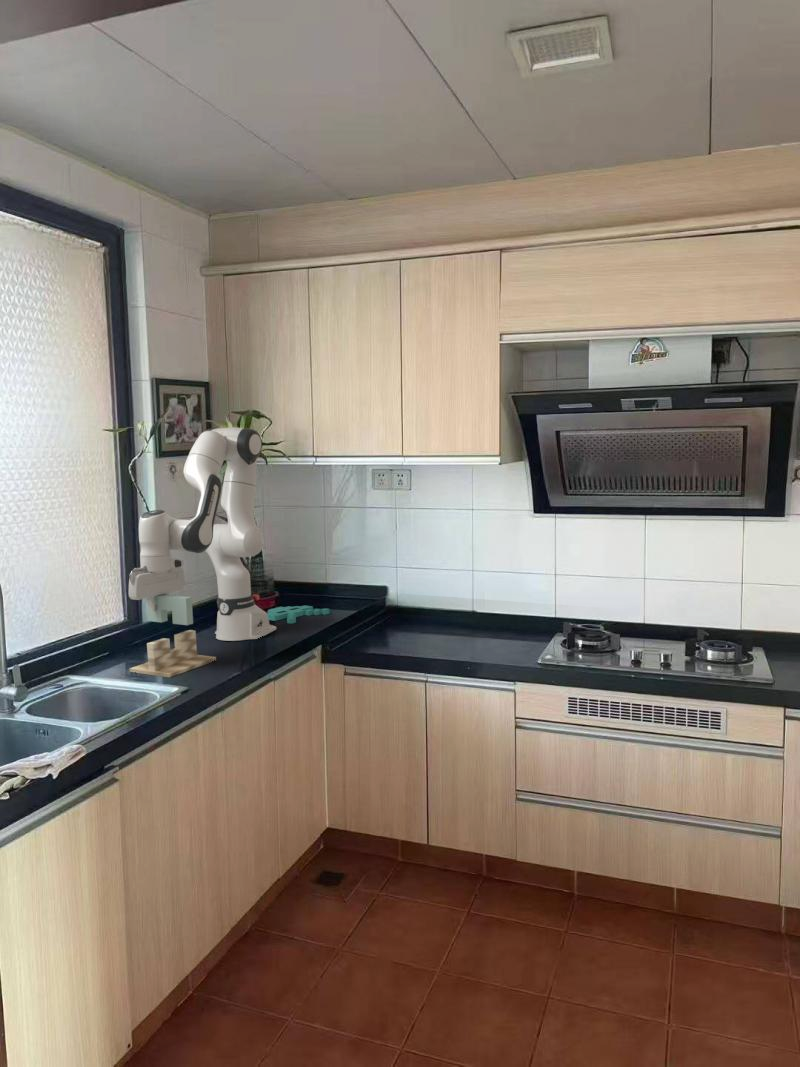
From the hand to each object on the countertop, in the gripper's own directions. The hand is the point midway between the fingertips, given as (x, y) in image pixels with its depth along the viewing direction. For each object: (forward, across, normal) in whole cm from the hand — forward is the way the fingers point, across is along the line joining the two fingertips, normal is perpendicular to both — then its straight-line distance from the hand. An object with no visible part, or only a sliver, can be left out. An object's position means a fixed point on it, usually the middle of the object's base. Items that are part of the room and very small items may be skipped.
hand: (158, 609), depth 256 cm
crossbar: (+4, 0, -4) cm, 6 cm away
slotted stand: (+17, 0, -4) cm, 18 cm away
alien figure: (+17, +72, +3) cm, 74 cm away
